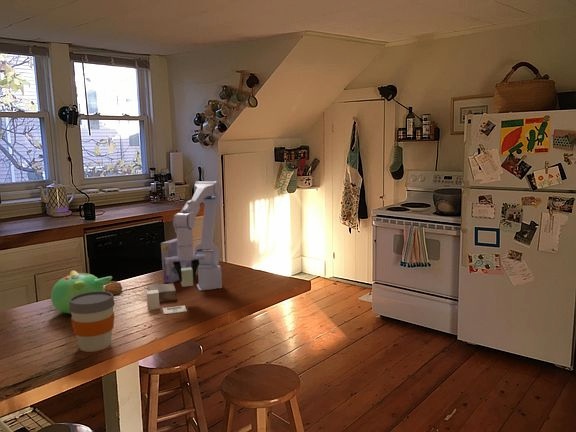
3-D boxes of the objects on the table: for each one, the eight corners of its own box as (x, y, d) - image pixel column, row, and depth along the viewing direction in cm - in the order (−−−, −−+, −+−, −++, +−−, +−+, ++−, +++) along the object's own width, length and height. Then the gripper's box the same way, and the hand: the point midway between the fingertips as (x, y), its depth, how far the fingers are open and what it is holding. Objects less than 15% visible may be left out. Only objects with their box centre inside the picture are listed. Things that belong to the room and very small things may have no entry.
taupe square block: (173, 292, 198) (173, 283, 197) (176, 300, 188) (175, 290, 188) (147, 295, 194) (147, 286, 194) (149, 303, 185) (148, 293, 185)
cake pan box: (187, 271, 228) (185, 234, 225) (196, 272, 226) (194, 234, 223) (161, 283, 210) (159, 242, 207) (171, 284, 208) (169, 243, 205)
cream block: (158, 305, 182) (157, 289, 181) (159, 308, 179) (158, 292, 178) (147, 306, 181) (146, 290, 180) (148, 310, 177) (147, 294, 176)
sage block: (191, 282, 186) (190, 267, 185) (193, 285, 183) (192, 269, 182) (181, 283, 185) (180, 268, 184) (182, 286, 181) (181, 271, 180)
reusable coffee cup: (126, 340, 151) (123, 293, 148) (95, 357, 139) (91, 306, 137) (95, 334, 156) (91, 289, 153) (63, 350, 144) (58, 301, 142)
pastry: (124, 294, 196) (124, 285, 196) (107, 297, 193) (106, 287, 192) (120, 288, 204) (119, 279, 204) (103, 291, 201) (102, 282, 200)
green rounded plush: (84, 301, 188) (81, 263, 186) (116, 307, 181) (114, 268, 178) (42, 316, 172) (38, 276, 170) (76, 324, 165) (73, 281, 162)
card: (184, 306, 181) (184, 305, 181) (187, 311, 175) (187, 310, 175) (162, 308, 178) (162, 308, 178) (164, 314, 172) (164, 313, 172)
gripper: (166, 248, 175) (168, 285, 177) (206, 245, 180) (208, 281, 182) (164, 244, 182) (166, 280, 184) (203, 241, 187) (204, 276, 189)
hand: (186, 280), depth 183 cm, fingers closed on sage block, 4 cm apart
